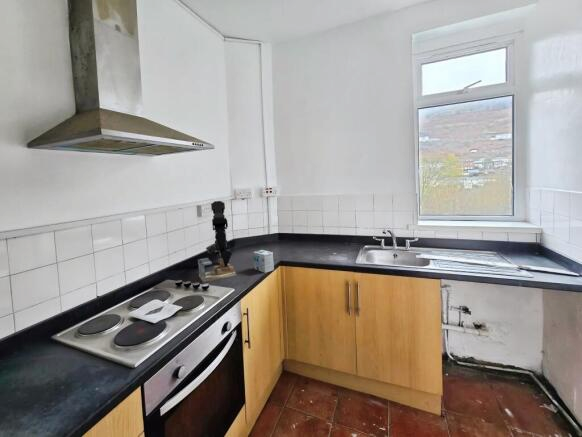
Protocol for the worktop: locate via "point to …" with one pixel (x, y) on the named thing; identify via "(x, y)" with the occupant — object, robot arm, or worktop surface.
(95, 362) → the worktop surface
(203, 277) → the awning socket
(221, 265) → the peg
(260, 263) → the light bulb box
